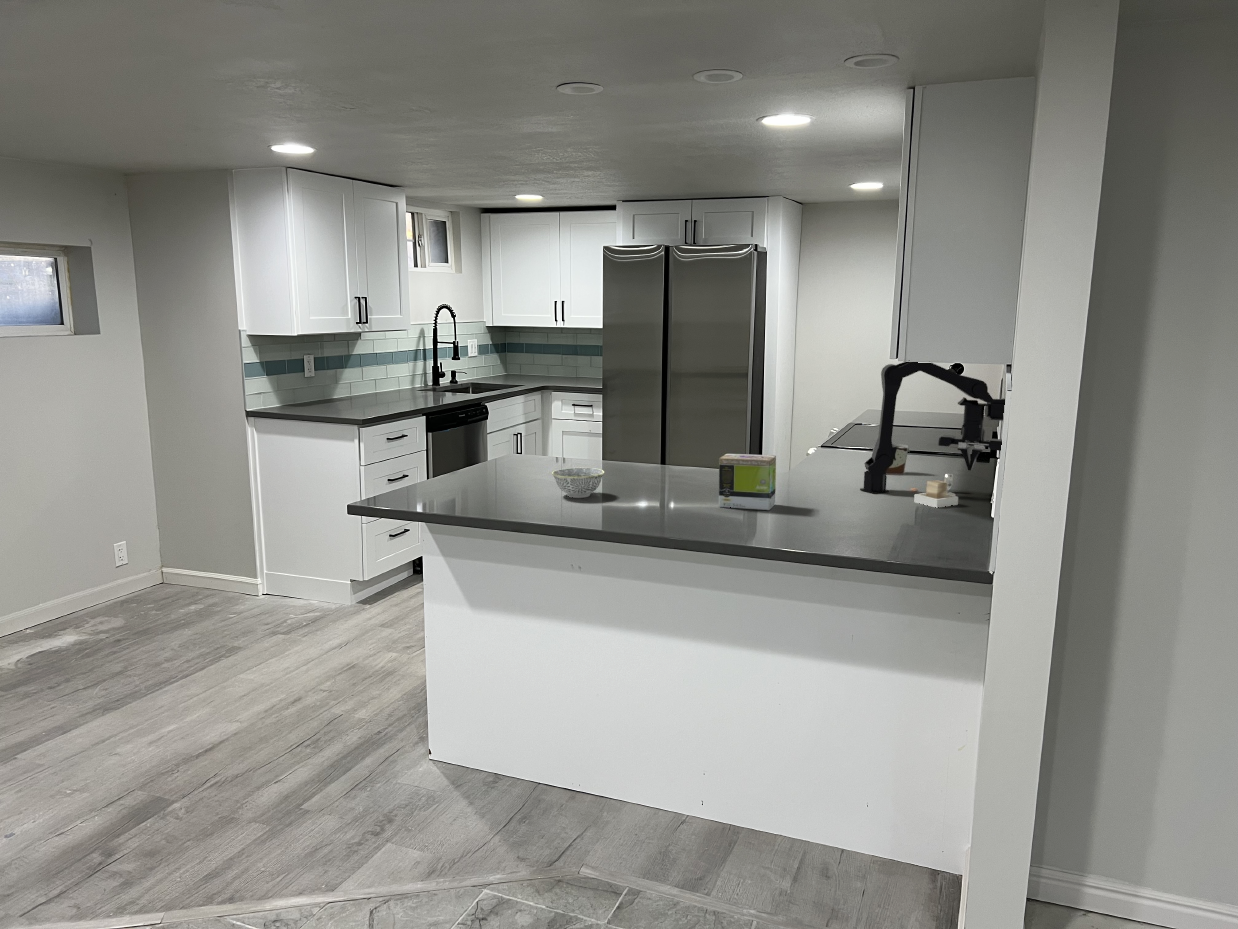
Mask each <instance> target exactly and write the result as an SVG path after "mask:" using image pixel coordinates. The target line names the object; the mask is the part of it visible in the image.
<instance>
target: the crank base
mask: <svg viewBox="0 0 1238 929" xmlns="http://www.w3.org/2000/svg"><path fill="white" fill-rule="evenodd" d="M918 490H919V489H918V488H914V487H911V488H910V491H914V492H918ZM947 494H948V495H952V496H957V494H956V493H954V492H949V491H947Z"/></svg>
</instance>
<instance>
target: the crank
mask: <svg viewBox="0 0 1238 929" xmlns="http://www.w3.org/2000/svg"><path fill="white" fill-rule="evenodd" d="M943 479H944V480H943V482H947V492H949V490H950V489H952V486H953V479H954V474H953V473H945V474H944V478H943Z"/></svg>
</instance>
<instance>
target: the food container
mask: <svg viewBox="0 0 1238 929" xmlns="http://www.w3.org/2000/svg"><path fill="white" fill-rule="evenodd" d="M893 444H894V445H895V446H896V447H897V450H896V454H895V458H896V460H894V461H893V464H892V466H890V467H889V468H887V471H886V475H898V476H899V475H904V474H905V471H906V464H907V458H908V452H909V453H910V447H909V445H907V444H902V443H901V444H900V443H893ZM874 447H875V445H874V446H873V449H872V451H873V450H874Z"/></svg>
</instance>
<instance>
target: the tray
mask: <svg viewBox="0 0 1238 929" xmlns="http://www.w3.org/2000/svg"><path fill="white" fill-rule="evenodd" d="M913 497H914V500H913V503H915V504H919V503H920V505H923V504H924V505H925V506H927V505H928V506H929V507H932V508H935V507H936V509H938V507H939V508H946V507H951V505H953V506H958V504H959V496H957V495H955V496H952V495H948V494H947V497H946V498H941V499H935V498H931V497H927V496H926V492H922V493H915V494H914V495H913ZM945 506H946V507H945Z"/></svg>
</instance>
